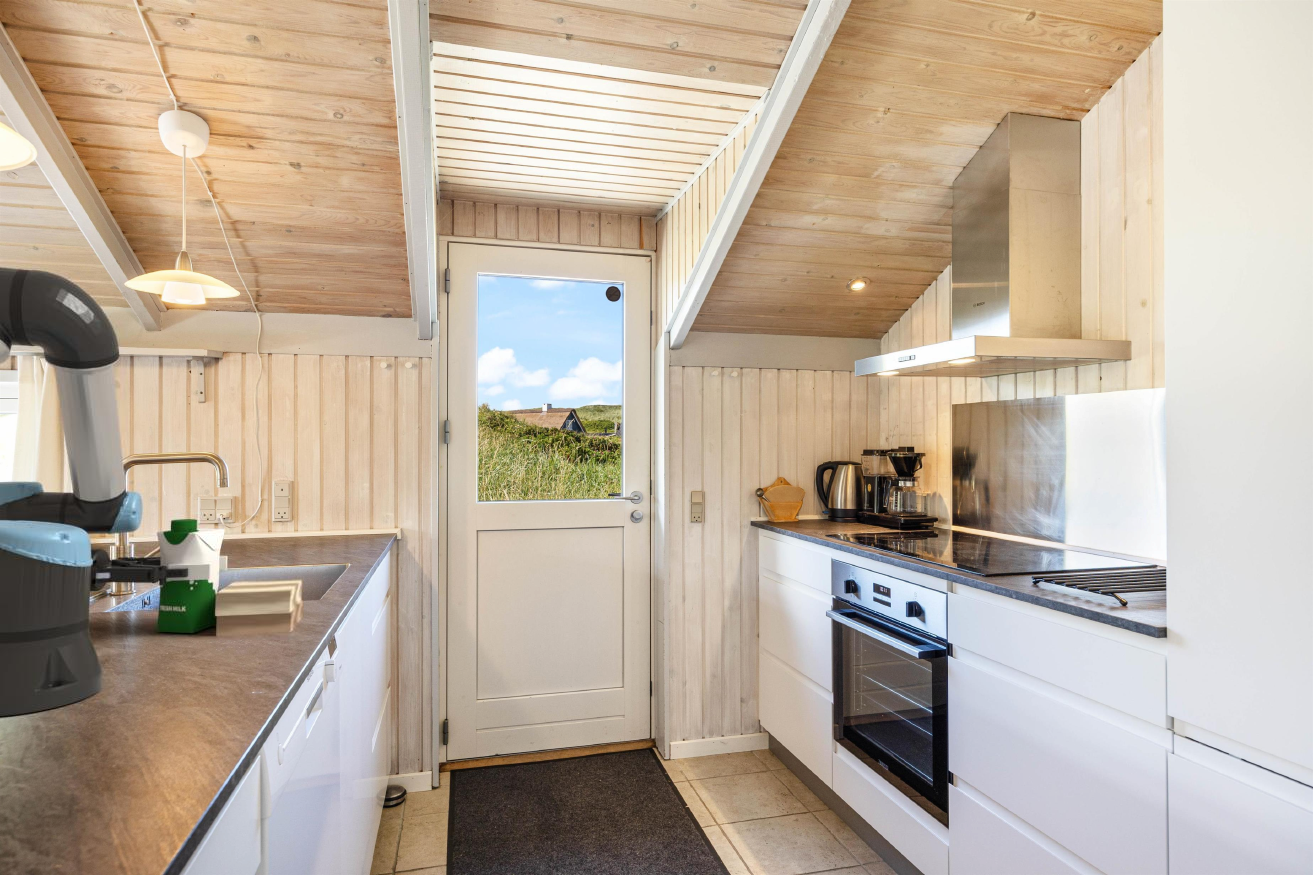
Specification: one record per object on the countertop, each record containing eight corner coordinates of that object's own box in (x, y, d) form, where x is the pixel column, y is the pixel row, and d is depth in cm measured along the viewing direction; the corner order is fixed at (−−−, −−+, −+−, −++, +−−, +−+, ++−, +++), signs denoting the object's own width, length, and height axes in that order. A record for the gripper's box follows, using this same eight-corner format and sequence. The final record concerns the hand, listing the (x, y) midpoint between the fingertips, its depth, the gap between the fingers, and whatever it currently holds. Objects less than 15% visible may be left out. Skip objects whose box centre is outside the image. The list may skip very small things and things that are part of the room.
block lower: (290, 635, 133) (290, 613, 133) (216, 638, 129) (216, 615, 129) (302, 620, 144) (303, 599, 144) (235, 622, 141) (235, 602, 141)
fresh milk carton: (147, 632, 130) (151, 520, 130) (185, 621, 139) (188, 516, 139) (193, 634, 129) (197, 522, 129) (228, 623, 138) (231, 517, 138)
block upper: (289, 613, 133) (290, 591, 133) (215, 615, 129) (215, 593, 129) (301, 599, 144) (302, 579, 144) (233, 602, 141) (234, 581, 141)
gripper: (104, 580, 140) (235, 577, 146) (42, 604, 119) (198, 599, 125) (105, 541, 140) (236, 539, 146) (43, 558, 119) (199, 555, 125)
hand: (218, 567), depth 135 cm, fingers closed on fresh milk carton, 9 cm apart
